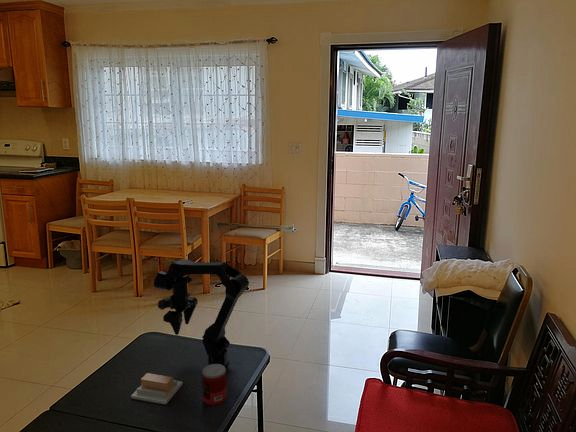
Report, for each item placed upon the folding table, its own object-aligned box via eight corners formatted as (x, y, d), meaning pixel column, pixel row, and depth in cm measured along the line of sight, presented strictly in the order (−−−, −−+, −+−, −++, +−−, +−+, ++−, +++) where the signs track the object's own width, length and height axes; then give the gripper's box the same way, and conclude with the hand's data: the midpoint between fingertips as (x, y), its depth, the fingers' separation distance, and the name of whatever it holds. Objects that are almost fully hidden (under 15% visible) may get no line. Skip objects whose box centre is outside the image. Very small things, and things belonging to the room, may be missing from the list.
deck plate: (182, 384, 162) (182, 378, 162) (165, 404, 151) (165, 397, 151) (150, 379, 166) (149, 372, 165) (131, 398, 154) (130, 391, 154)
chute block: (173, 387, 159) (172, 377, 158) (167, 394, 155) (166, 383, 154) (147, 383, 161) (147, 372, 160) (141, 389, 157) (140, 379, 157)
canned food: (230, 394, 157) (229, 365, 154) (219, 408, 149) (218, 378, 147) (210, 390, 159) (209, 361, 157) (198, 403, 152) (197, 373, 149)
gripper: (171, 281, 185) (173, 317, 189) (149, 299, 167) (151, 338, 171) (197, 284, 183) (198, 319, 186) (177, 302, 165) (178, 341, 169)
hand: (181, 329), depth 178 cm, fingers open, 9 cm apart
